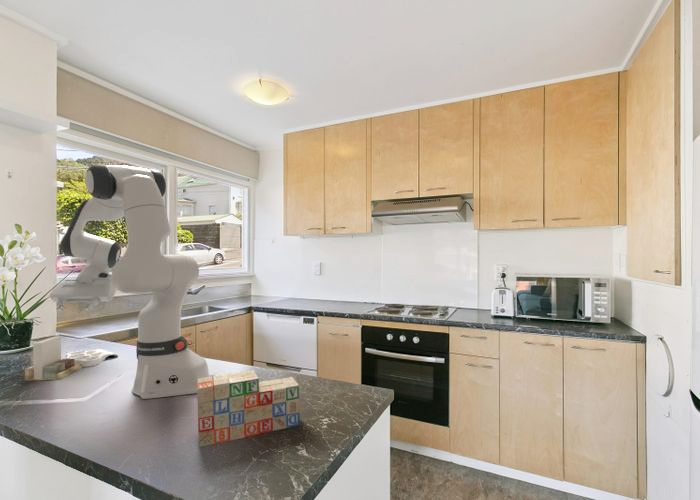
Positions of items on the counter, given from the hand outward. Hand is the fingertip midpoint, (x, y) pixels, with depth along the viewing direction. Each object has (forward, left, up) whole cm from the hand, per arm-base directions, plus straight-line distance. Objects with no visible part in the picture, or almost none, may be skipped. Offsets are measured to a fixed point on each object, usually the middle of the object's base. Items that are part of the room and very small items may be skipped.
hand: (73, 310), depth 125 cm
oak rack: (-2, +12, -19) cm, 23 cm away
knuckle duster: (-3, -2, -20) cm, 20 cm away
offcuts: (-4, +12, -18) cm, 23 cm away
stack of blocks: (-71, +53, -20) cm, 91 cm away
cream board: (0, +12, -18) cm, 22 cm away
